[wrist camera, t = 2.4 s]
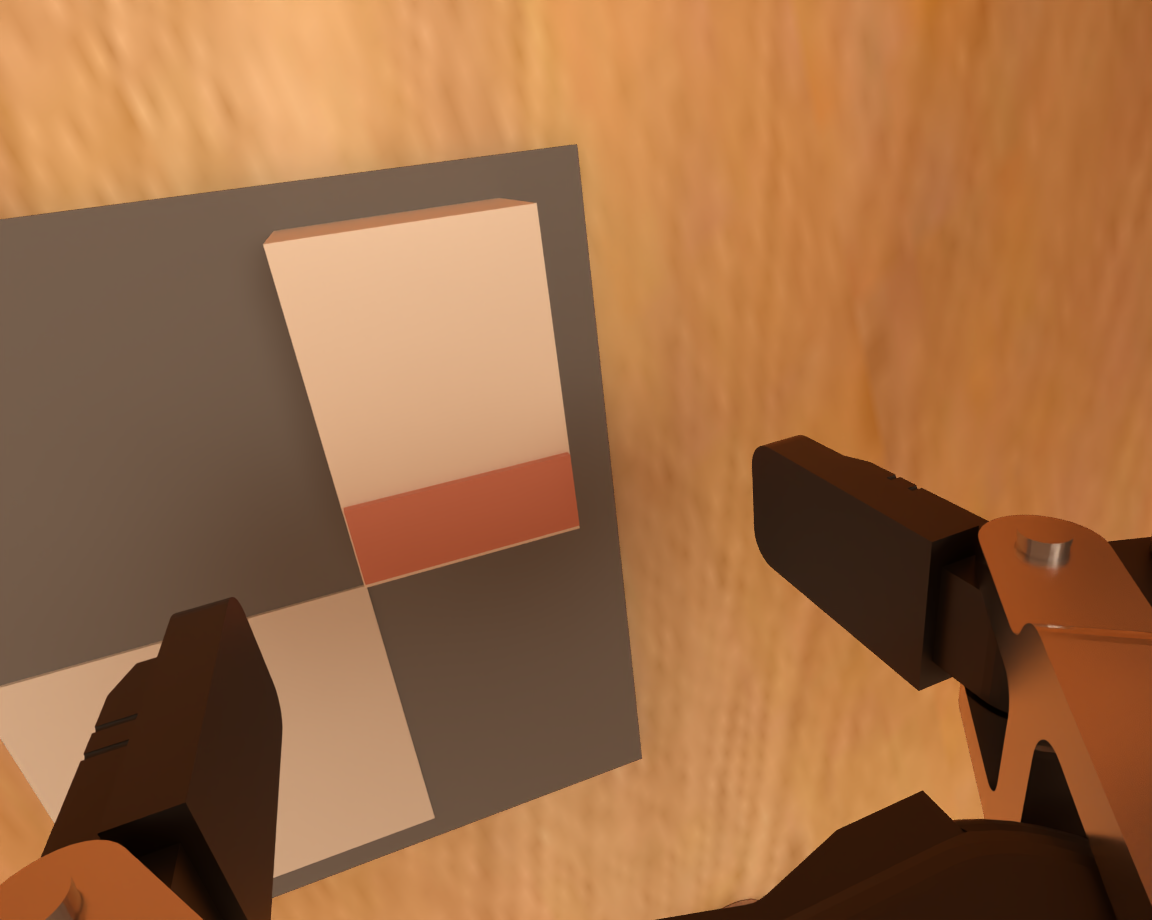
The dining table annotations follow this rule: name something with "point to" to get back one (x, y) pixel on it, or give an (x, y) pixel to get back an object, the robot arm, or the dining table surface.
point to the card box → (431, 380)
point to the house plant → (742, 903)
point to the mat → (288, 520)
